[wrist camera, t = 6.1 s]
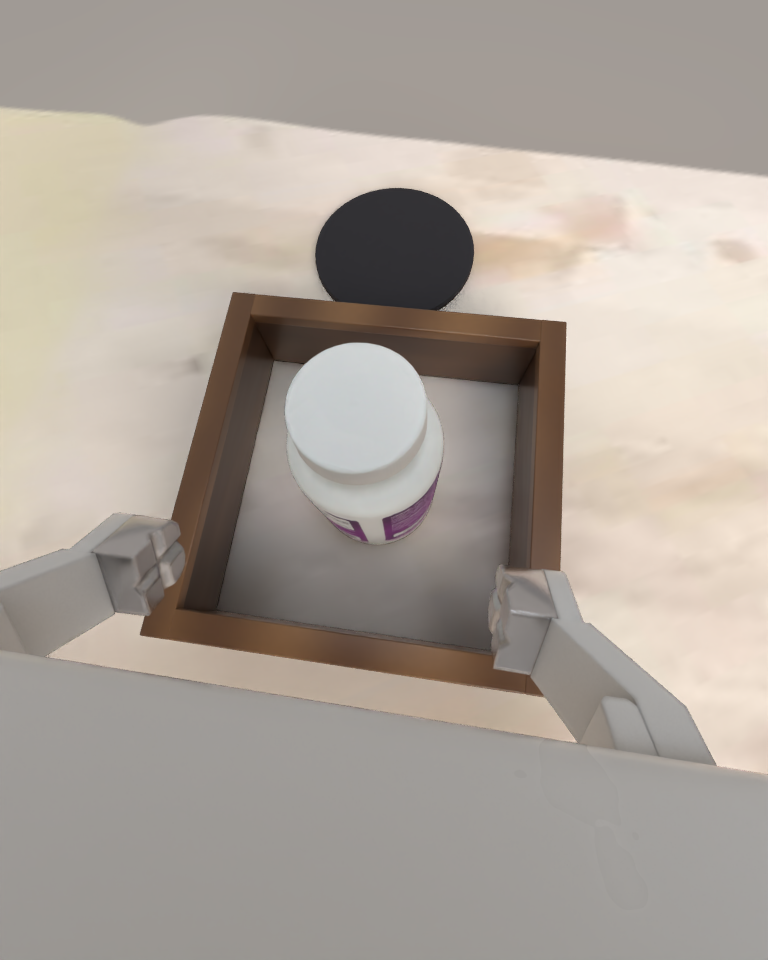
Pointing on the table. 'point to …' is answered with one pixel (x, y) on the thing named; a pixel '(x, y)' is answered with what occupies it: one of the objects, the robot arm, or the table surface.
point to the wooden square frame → (231, 436)
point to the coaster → (395, 250)
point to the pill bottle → (364, 441)
